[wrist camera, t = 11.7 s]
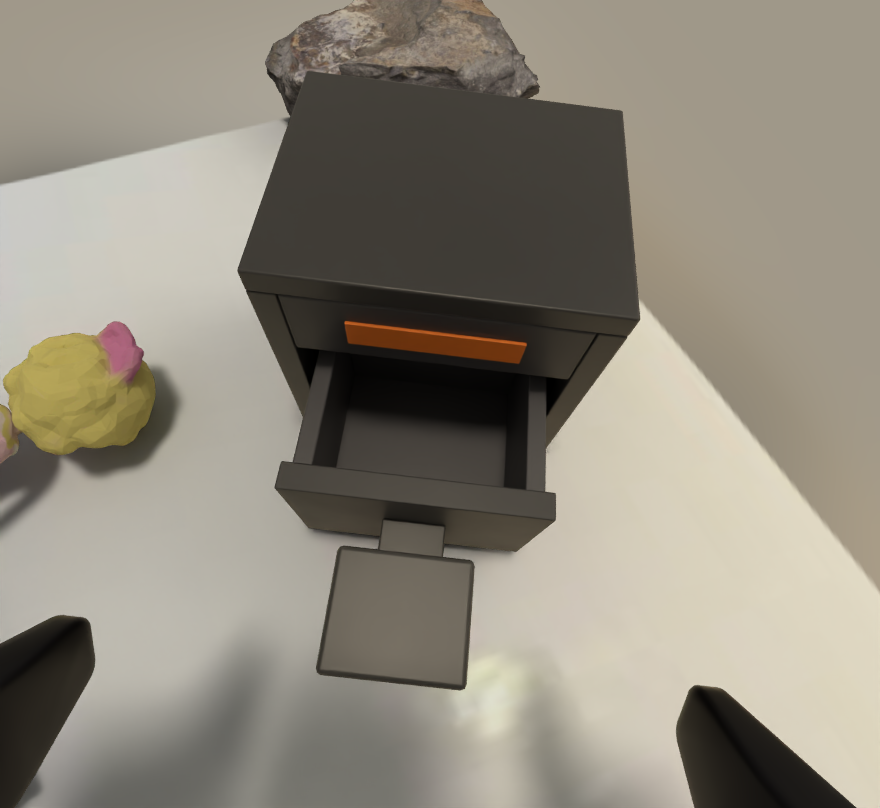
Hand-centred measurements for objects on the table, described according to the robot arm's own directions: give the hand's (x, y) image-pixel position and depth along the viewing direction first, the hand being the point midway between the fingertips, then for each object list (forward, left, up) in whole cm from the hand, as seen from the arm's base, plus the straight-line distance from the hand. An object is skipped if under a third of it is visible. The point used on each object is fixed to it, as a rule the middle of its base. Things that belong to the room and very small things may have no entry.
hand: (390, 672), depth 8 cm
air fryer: (+12, 0, -11) cm, 17 cm away
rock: (+26, +3, -12) cm, 29 cm away
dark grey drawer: (+5, 0, -11) cm, 12 cm away
